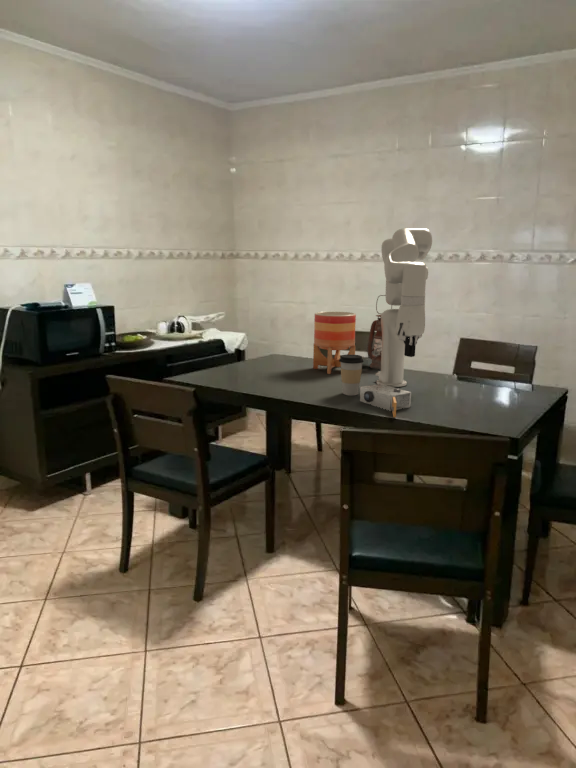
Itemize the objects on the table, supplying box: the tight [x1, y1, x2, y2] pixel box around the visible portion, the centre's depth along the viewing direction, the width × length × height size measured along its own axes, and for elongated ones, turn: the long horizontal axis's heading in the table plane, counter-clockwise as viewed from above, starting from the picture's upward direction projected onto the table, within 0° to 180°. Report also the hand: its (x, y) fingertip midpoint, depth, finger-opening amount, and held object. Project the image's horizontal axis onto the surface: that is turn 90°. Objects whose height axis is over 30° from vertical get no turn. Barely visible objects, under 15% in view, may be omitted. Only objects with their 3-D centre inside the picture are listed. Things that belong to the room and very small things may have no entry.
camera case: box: [359, 383, 412, 412], centre depth 204 cm, size 16×11×6 cm
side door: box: [392, 396, 397, 418], centre depth 191 cm, size 1×9×5 cm, turn 173°
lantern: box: [366, 294, 393, 370], centre depth 270 cm, size 11×16×35 cm
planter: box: [312, 311, 357, 375], centre depth 264 cm, size 20×20×27 cm
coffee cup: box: [339, 354, 364, 396], centre depth 219 cm, size 9×9×15 cm
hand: (409, 356), depth 189 cm, fingers closed
